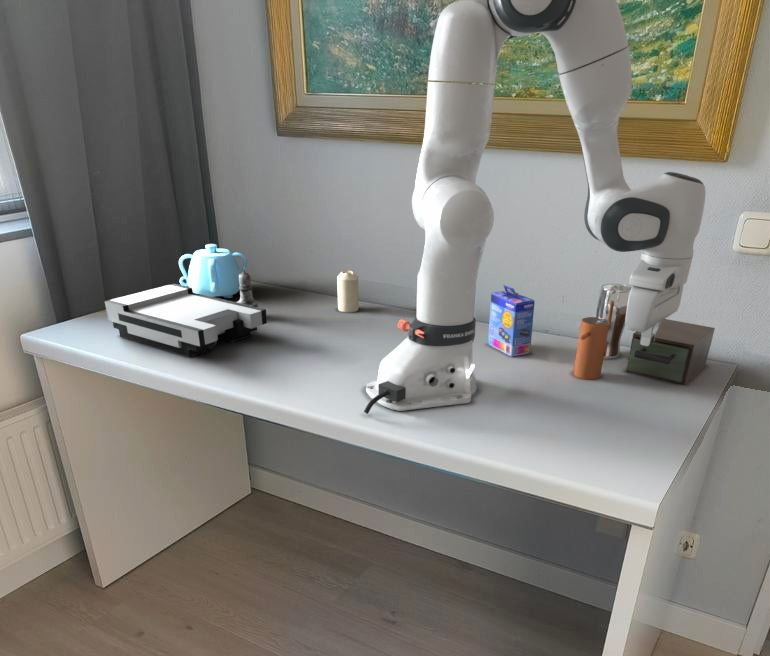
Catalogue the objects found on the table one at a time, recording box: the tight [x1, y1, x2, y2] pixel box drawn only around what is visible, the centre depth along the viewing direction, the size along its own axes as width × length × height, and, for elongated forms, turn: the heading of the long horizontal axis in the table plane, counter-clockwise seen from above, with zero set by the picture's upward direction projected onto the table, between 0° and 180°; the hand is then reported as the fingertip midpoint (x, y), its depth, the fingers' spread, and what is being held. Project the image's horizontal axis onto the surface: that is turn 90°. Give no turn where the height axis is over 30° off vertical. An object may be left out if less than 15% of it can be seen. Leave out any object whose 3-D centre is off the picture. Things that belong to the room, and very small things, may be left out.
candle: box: [336, 269, 360, 313], centre depth 189 cm, size 6×6×10 cm
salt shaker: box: [235, 269, 259, 308], centre depth 182 cm, size 6×6×12 cm
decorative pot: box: [178, 243, 248, 299], centre depth 200 cm, size 16×16×14 cm
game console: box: [104, 283, 268, 358], centre depth 169 cm, size 21×32×8 cm, turn 54°
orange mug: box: [573, 316, 610, 381], centre depth 146 cm, size 9×6×12 cm, turn 143°
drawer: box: [628, 338, 690, 382], centre depth 149 cm, size 18×11×7 cm, turn 143°
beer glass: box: [595, 283, 633, 360], centre depth 158 cm, size 7×7×15 cm
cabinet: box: [625, 318, 716, 386], centre depth 152 cm, size 14×12×8 cm
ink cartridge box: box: [487, 284, 536, 358], centre depth 161 cm, size 10×6×14 cm, turn 28°
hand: (646, 343), depth 138 cm, fingers closed
